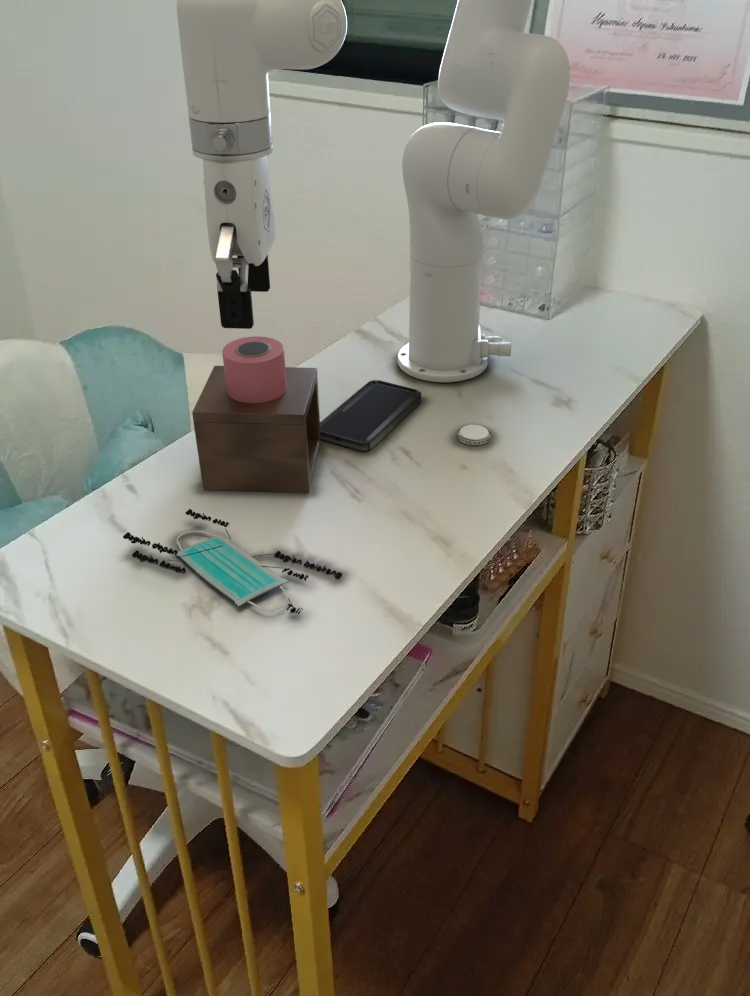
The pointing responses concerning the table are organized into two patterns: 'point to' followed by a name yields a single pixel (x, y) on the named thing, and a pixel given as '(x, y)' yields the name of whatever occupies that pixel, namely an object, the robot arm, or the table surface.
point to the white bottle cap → (474, 434)
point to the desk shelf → (259, 436)
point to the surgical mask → (228, 566)
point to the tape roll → (254, 369)
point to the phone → (369, 415)
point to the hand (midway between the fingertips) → (246, 308)
